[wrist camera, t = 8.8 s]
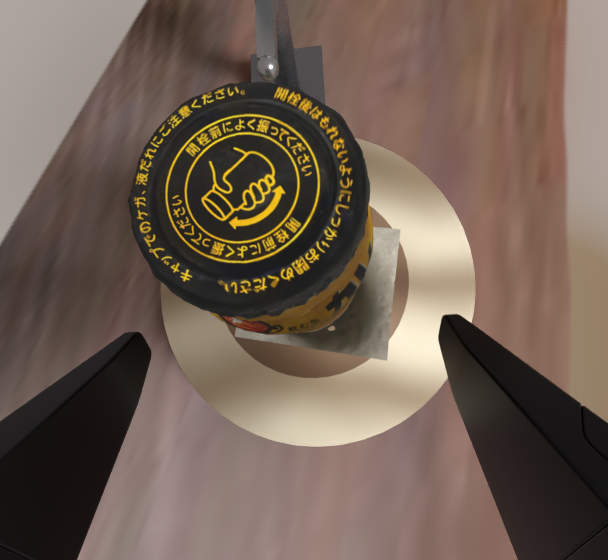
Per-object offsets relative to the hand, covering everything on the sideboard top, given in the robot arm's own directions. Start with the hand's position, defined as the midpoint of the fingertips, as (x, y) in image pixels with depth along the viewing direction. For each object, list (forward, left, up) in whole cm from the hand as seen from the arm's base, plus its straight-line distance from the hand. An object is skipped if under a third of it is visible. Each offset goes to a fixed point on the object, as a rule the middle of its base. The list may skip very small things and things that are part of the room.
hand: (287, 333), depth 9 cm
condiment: (+3, -1, -9) cm, 9 cm away
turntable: (+3, 0, -10) cm, 10 cm away
